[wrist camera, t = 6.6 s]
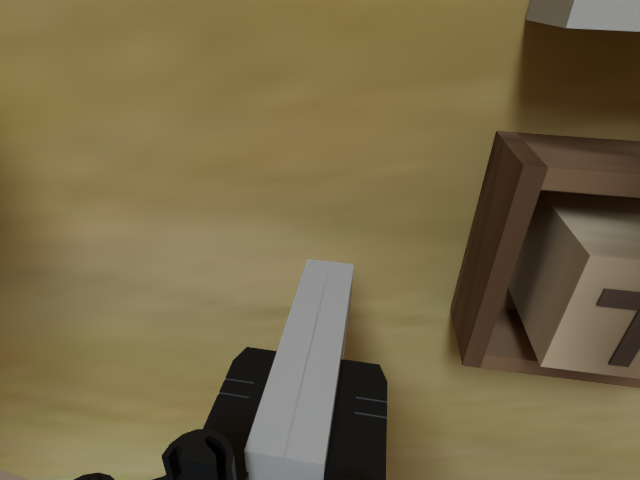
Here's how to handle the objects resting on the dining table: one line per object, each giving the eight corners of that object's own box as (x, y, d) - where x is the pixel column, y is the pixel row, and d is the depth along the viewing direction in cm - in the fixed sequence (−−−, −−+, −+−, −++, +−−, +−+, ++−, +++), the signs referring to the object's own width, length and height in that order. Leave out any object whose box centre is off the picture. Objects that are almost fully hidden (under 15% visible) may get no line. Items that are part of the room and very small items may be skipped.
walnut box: (450, 308, 19) (462, 365, 17) (496, 131, 15) (523, 165, 12) (641, 329, 19) (689, 394, 16) (747, 149, 14) (842, 191, 11)
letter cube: (507, 286, 18) (541, 368, 14) (539, 190, 16) (591, 257, 12) (618, 298, 17) (685, 386, 14) (668, 201, 15) (767, 274, 11)
